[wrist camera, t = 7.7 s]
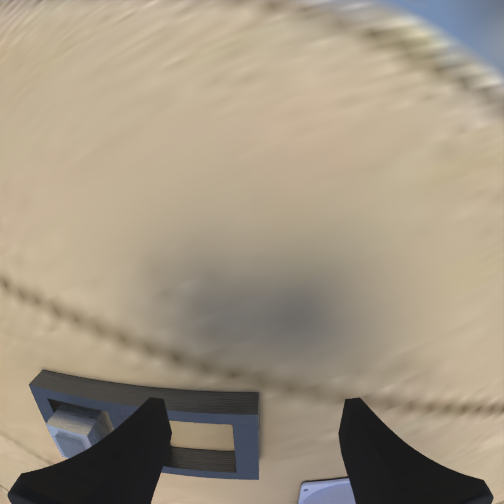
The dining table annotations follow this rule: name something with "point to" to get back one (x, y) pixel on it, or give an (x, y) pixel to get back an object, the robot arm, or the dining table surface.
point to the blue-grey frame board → (178, 409)
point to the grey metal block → (78, 428)
